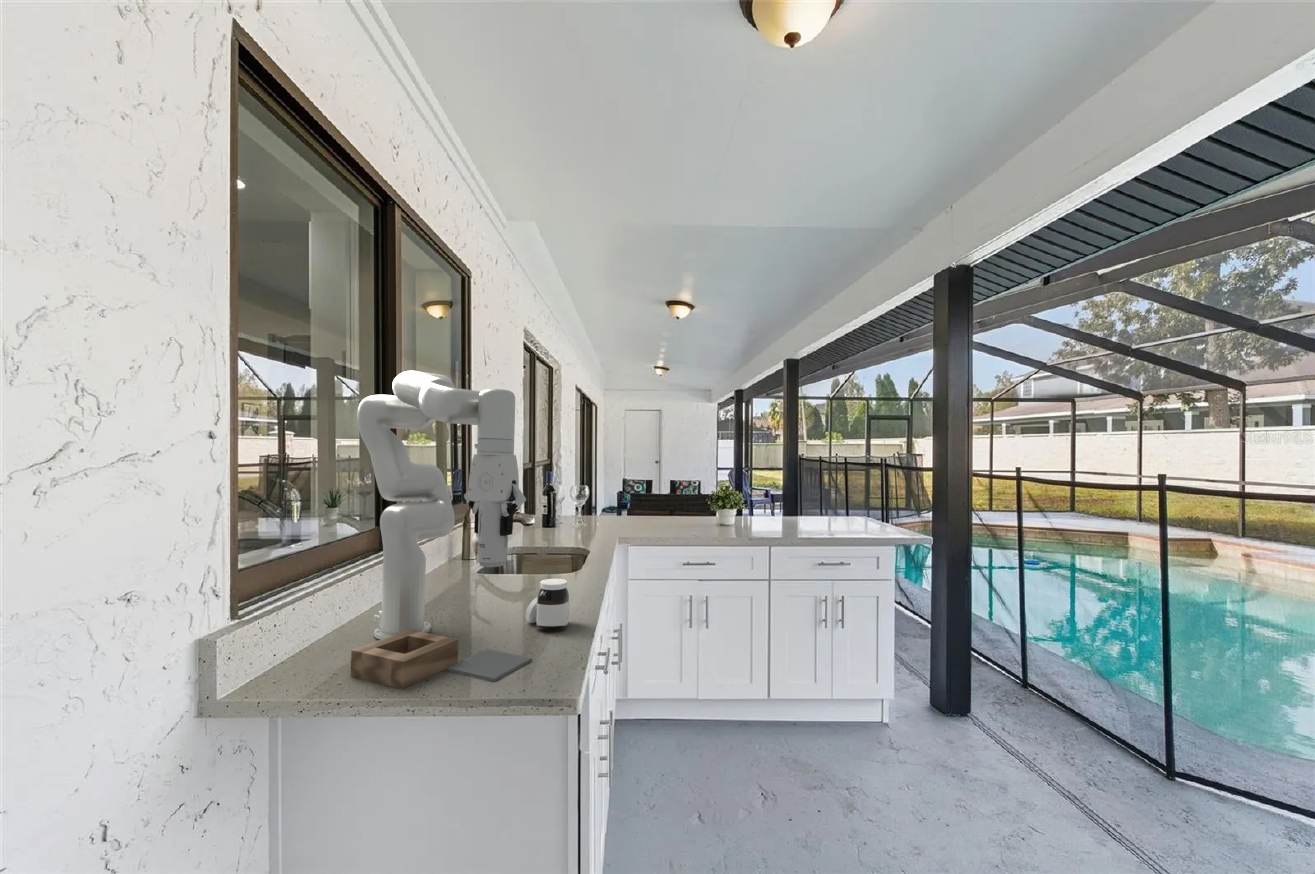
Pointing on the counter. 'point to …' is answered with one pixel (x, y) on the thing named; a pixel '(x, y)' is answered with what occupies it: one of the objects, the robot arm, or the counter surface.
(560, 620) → the spread jar
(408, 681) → the walnut frame
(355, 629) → the counter surface
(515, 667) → the rubber mat
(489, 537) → the energy drink can
